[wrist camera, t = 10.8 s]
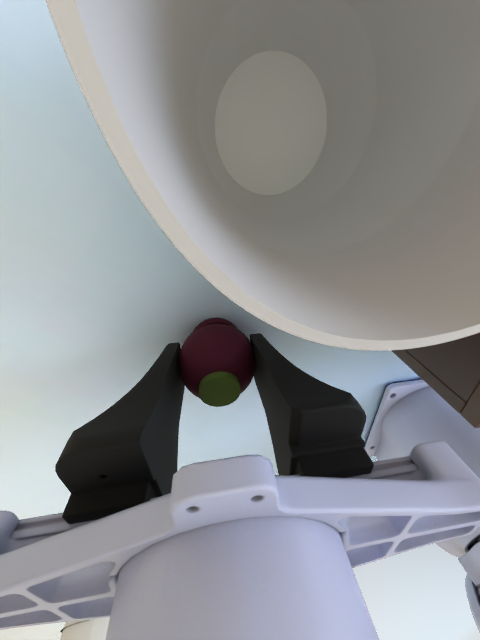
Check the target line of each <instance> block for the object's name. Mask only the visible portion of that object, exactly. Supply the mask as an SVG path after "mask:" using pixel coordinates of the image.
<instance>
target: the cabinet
mask: <svg viewBox="0 0 480 640" xmlns="http://www.w3.org/2000/svg"><path fill="white" fill-rule="evenodd" d="M391 351H392V352H394V353H395V354H396V355H397V356H398V357H399V358H400V359H401V360H402V361H403V362H404V363H405V364H406V365H407V366H409V367H410V368H411V369H412V370H413V371H414V372H415V373H416V374H417V375H418V376H419V377H420V378H421V379H422V380H424V381H425V382H426V383H427V384H428V385H429V386H430V387H431V388H432V389H433V390H434V391H435V392H436V393H438V394H439V395H440V396H441V397H442V398H443V399H444V400H445V401H446V402H447V403H448V404H449V405H450V406H451V407H453V408H454V409H455V410H456V411H457V412H458V413H460V414H461V416H462V417H463V418H464V419H466V420H467V421H468V422H469V423H470V424H471V425H472V426H473V427H474V428H480V333H477V334H474V335H470V336H467V337H464V338H460V339H457V340H453V341H449V342H445V343H441V344H436V345H431V346H425V347H419V348H412V349H403V350H391Z"/></svg>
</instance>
